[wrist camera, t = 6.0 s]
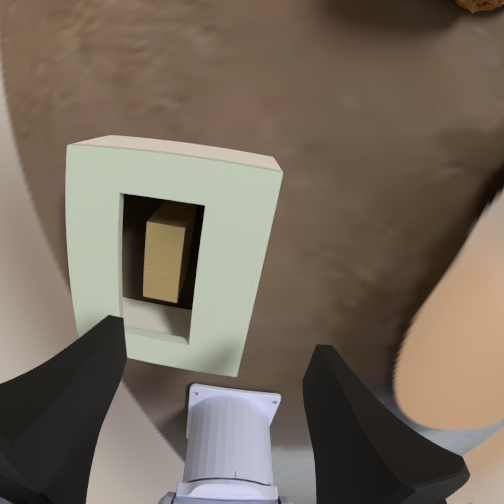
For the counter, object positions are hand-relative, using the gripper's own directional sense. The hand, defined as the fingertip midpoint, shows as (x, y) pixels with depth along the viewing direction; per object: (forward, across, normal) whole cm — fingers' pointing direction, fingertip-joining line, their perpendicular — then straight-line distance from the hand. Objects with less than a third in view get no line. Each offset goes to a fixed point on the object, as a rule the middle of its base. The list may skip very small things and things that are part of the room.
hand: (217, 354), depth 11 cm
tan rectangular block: (+10, +3, 0) cm, 11 cm away
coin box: (+10, +3, 0) cm, 10 cm away
